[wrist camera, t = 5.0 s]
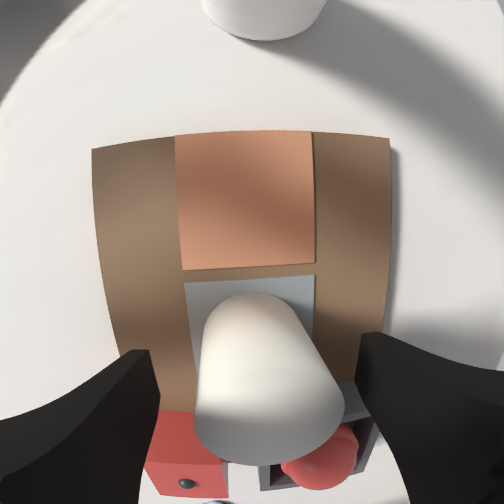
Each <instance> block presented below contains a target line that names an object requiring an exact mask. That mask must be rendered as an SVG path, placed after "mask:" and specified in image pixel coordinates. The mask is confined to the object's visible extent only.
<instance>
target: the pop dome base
mask: <svg viewBox="0 0 504 504" xmlns="http://www.w3.org/2000/svg"><path fill="white" fill-rule="evenodd" d="M336 383H337V385H338V387H339V389H340V390H341V392H342V395H343V397H344V403H345V407H344V414H343V418H342V420H341V423H346V422H348V423H349V425H350V427H351V429H352V431H353V433H354V435H355V437H356V439H357V441H358V444H359V448H358V451H357V459H356V464H355V467H354V469H353V471H352V472H351V474H350V475H353V474H357V473H360V472H363V471H364V468H365V466H366V464H367V462H368V459H369V457H370V455H371V452H372V450H373V447H374V445H375V442H376V439H377V437H378V434H379V431H380V430H379V429H378V427H377V425H376V424H375V422H374V420H373V419H372V417H371V415H370V413H369V412H368V410H367V408H366V407H365V405H364V403H363V401H362V399H361V397H360V394H359V392H358V389H357V387H356V384H355V381H354V379H350V380H345V381H339V382H336ZM341 423H340V424H341ZM257 467H258V475H259V483H260V491H267V490H276V489H284V488H292V487H298V486H300V485H298V484H296V483H295V482H294V481H293V480H292V479H291V478H290V476H288V475H287V474H285V473H284V472H283V470H282V468H281V463H280V464H275V465H267V466H257ZM350 475H349V476H350Z"/></svg>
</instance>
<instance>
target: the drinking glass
mask: <svg viewBox="0 0 504 504" xmlns="http://www.w3.org/2000/svg"><path fill="white" fill-rule="evenodd" d="M326 2H327V0H200V4H201V7H202V9H203V12H204V13H205V15H206V16H207V18H208V19H209V20H210V21H211V22H212V23H213V24H214V25H216V26H217V27H218V28H220V29H222V30H223V31H225V32H227V33H230V34H232V35H235V36H238V37H242V38H246V39H252V40H265V41H268V40H280V39H285V38H289V37H292V36H295V35H297V34H299V33H301V32H303V31H305V30H306V29H307V28H309V27H310V26H311V25H312V24H313V23H314V22H315V20H316V19H317V18H318V16H319V14H320V12H321V11H322V9H323V7H324V5H325V4H326Z"/></svg>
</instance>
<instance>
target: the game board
mask: <svg viewBox="0 0 504 504" xmlns="http://www.w3.org/2000/svg"><path fill="white" fill-rule="evenodd" d="M92 188H93V205H94V217H95V228H96V237H97V245H98V253H99V260H100V266H101V273H102V279H103V284H104V290H105V295H106V300H107V305H108V310H109V314H110V319H111V323H112V327H113V331H114V335H115V339H116V343H117V347H118V350H119V354H120V357H121V356H122V355H124V354H125V353H127V352H128V351H130V350H132V349H147V350H149V352H150V356H151V360H152V364H153V368H154V372H155V376H156V380H157V384H158V387H159V391H160V394H161V398H160V405H159V411H165V412H194V411H195V401H196V391H197V382H198V373H199V364H200V355H201V347H202V339H203V331H204V326H205V324H206V321H207V319H208V317H209V315H210V314H211V313H212V311H213V310H214V309H215V308H216V307H217V306H218V305H219V304H221V303H222V302H223V301H225V300H227V299H228V298H231V297H233V296H235V295H239V294H242V293H248V292H261V293H266V294H270V295H273V296H276V297H278V298H280V299H281V300H283V301H285V302H286V303H287V304H288V305H289V306H290V307H291V308H292V309H293V310H294V312H295V314H296V315H297V317H298V319H299V320H300V322H301V324H302V325H303V327H304V329H305V330H306V332H307V334H308V336H309V337H310V339H311V341H312V342H313V344H314V346H315V347H316V349H317V351H318V353H319V354H320V356H321V358H322V359H323V361H324V363H325V365H326V366H327V368H328V370H329V371H330V373H331V375H332V377H333V378H334V380H335V382H339V381H345V380H350V379H354V377H355V371H356V366H357V360H358V353H359V347H360V340H361V334H364V333H370V332H376V331H377V332H380V333H382V326H383V319H384V312H385V305H386V296H387V287H388V277H389V265H390V250H391V227H392V179H391V156H390V142H389V138H382V137H373V136H364V135H353V134H341V133H326V132H311V131H285V130H261V131H228V132H211V133H198V134H186V135H176V136H172V137H163V138H155V139H148V140H141V141H134V142H128V143H122V144H116V145H111V146H105V147H100V148H95V149H92ZM228 463H233V462H230V461H228Z"/></svg>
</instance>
